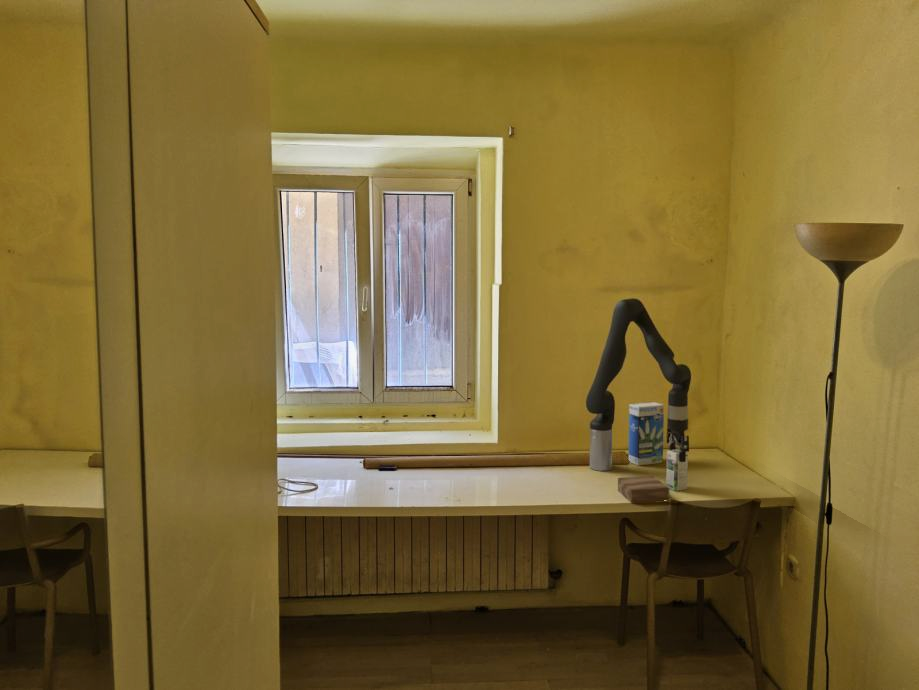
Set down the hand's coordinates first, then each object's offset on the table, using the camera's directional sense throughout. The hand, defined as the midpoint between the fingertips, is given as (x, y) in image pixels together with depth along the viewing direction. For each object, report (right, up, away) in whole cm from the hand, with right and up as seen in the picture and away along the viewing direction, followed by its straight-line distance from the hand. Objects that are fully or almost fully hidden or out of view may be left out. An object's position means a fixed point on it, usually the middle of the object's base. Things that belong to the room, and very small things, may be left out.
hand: (677, 458), depth 248 cm
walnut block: (-15, -13, -6) cm, 21 cm away
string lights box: (-2, -8, +36) cm, 37 cm away
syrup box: (0, -12, +2) cm, 12 cm away
